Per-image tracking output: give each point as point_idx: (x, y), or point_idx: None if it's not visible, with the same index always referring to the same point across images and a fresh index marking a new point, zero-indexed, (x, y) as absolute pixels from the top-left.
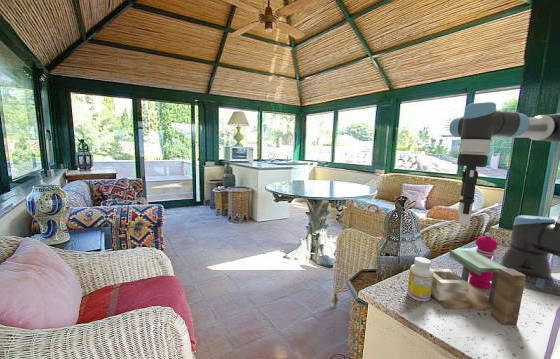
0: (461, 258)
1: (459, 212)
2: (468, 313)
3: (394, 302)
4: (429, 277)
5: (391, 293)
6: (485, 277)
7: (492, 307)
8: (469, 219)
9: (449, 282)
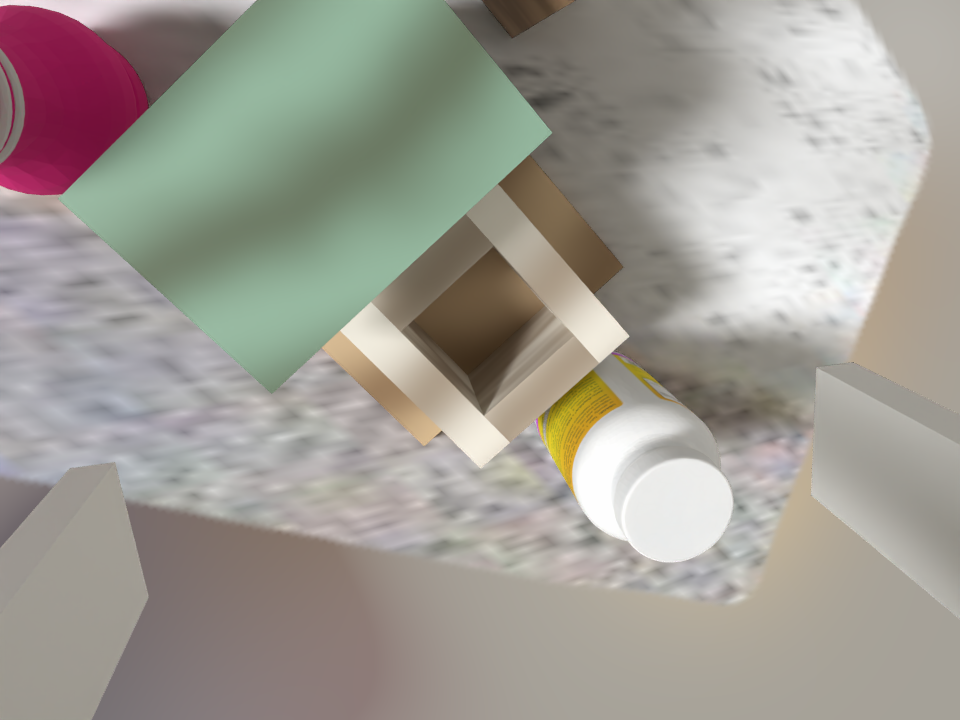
0: (387, 282)
1: (133, 599)
2: (582, 151)
3: (738, 475)
4: (688, 409)
5: None
6: (121, 73)
7: (523, 31)
8: (909, 402)
9: (588, 294)
